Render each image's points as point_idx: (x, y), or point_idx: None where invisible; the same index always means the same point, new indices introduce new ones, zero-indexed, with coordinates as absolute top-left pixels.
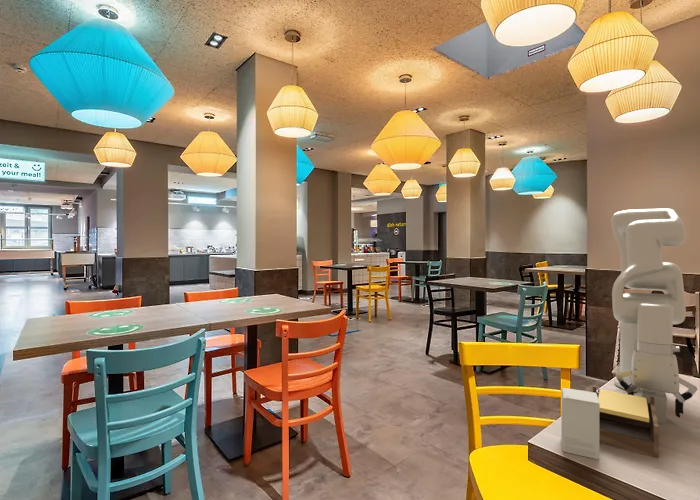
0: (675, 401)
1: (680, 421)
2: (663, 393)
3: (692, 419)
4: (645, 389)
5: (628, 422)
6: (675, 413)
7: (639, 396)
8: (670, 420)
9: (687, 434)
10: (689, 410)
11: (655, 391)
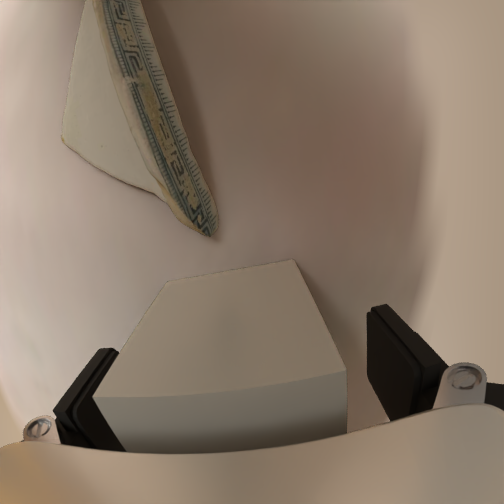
0: (404, 385)
1: (372, 265)
2: (326, 434)
3: (422, 172)
4: (138, 427)
5: None
6: (367, 333)
7: (103, 48)
8: (324, 294)
9: (380, 405)
10: (389, 18)
11: (240, 427)
